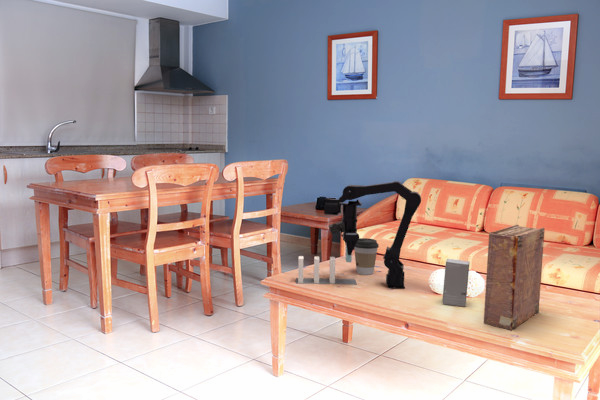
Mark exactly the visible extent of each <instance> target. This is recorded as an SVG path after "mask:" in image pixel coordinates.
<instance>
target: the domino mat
mask: <svg viewBox="0 0 600 400" xmlns="http://www.w3.org/2000/svg"><path fill="white" fill-rule="evenodd" d="M295 284H299V285H300V284H303V285H305V284H306V285H307V284H308V285H349V286H350V285H354V286H357V285H358V283H357V281H356V278H335V284H334V283H330V281H329V278H321V277H319V283H314V277H313V278H312V277H309V278H308V277H303V283H298V277H296V278H295Z"/></svg>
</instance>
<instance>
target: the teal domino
mask: <svg viewBox="0 0 600 400" xmlns="http://www.w3.org/2000/svg"><path fill="white" fill-rule="evenodd" d="M352 253H353V252H352ZM352 253H351V255H348V252H347V245H346V244H345V262H346V263H352V259H353V258H352V257H353V254H352Z"/></svg>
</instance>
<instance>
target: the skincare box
mask: <svg viewBox="0 0 600 400" xmlns="http://www.w3.org/2000/svg"><path fill="white" fill-rule="evenodd" d="M470 263H471V262H470V261H468V260H461V259H453V258H452V259H451V258H447V259H446V261H445V268H444V277H443V278H444V279H443V289H442V298H441V299H442V301H441V302H442V304H443V305H448V306H455V307H456V306H457V307H463V308H465V307H466V305H467V304H466V303H467V295H468V283H469V272H470Z"/></svg>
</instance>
